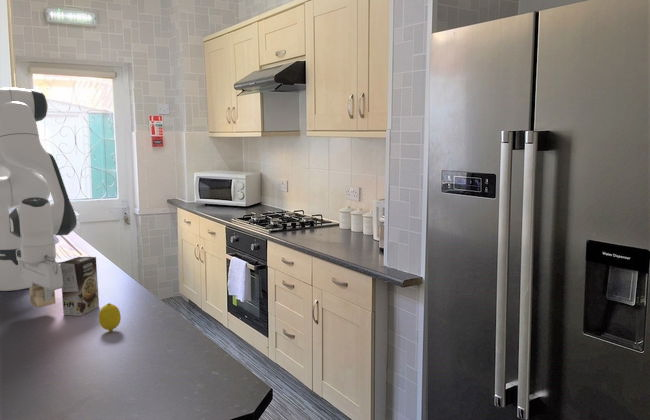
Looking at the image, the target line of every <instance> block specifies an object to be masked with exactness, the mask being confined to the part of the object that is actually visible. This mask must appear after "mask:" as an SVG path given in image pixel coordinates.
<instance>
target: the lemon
mask: <svg viewBox="0 0 650 420" xmlns="http://www.w3.org/2000/svg"><path fill="white" fill-rule="evenodd" d="M121 317H122V316H121V312H120V309H119V307H118V306H117V305H115V304H112V303H111V302H109V303H107V304H105V305H103V307H102V308H100V310H99V315H98V322H99V324H100V326H101V328H103V329H104V330H107V331H108V332H113V330H114V329H116V328H117V327H118V326H119V325H120V323H121V319H122V318H121Z"/></svg>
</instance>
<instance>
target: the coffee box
mask: <svg viewBox="0 0 650 420" xmlns="http://www.w3.org/2000/svg"><path fill="white" fill-rule="evenodd" d="M59 265H60V267H61V271H62V278H63V287H62V288H61V295H62V297H61V298H62V310H63V312H62V313H63V316H74V317H75V316H77V317H82V316H85V315H86V314H88V313H90V312H92V311H94V310H96V309H98V308H100V298H99V286H98V270H97V266H98V265H97V257H96V256H77V257H74V258H71V259H68V260H64V261H63V262H60V263H59Z"/></svg>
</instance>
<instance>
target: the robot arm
mask: <svg viewBox="0 0 650 420" xmlns="http://www.w3.org/2000/svg"><path fill="white" fill-rule="evenodd" d="M48 108H49V105H48V101H47V99H46V95H45V94H44V93H43V92H42V91H41V90H38V89H35V88H34V89H33V88H30V89H28V88H27V89H26V88H19V87H9V86H8V87H0V168H1V169H4V170H7V171H9V172H10V175H7V176H6V175H5V176H0V291H1V292H7V291H9V292H10V291H20V290H24V289H29V288H31V287H36V286H41V287H44V291H45V295H43V298H44V300H45V301H51V300H52V292H53V290H62V287H63V278H62V271H61V267H60V263H59V262H57V261H56V258H57V253H56V252H57V250H56V240H55V237H54V236H68V235H70V234H71V233H72V232H73V231H74V230H75V228H76V226H77V221H78V220H77V215H76V212H75V209H74V208H73V207H74V206H73V205H72V203H71V200H70V198H69V195H68V192H67V189H66V187H65V183H64V180H63V178H62V177H63V176H62V174H61V172H60V168H59V166H58V163H57V161H56V159H55V157H54V155H53V154H51V153H49V152H47V151H46V150H45V148H44V147H43V145H42V143H41V141H40V135H39V130H38V126H37V122H40V121H42V120H44V119H45V118H46V116H47V113H48V111H49V109H48ZM50 196H51V197H52V200H53V201H52V202H53V203H52V204H51V203H50V202H51V201H50V200H49V198H50ZM12 208H14V209H13V210H11V212H9V210H10V209H12Z"/></svg>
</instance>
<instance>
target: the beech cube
mask: <svg viewBox="0 0 650 420" xmlns="http://www.w3.org/2000/svg"><path fill="white" fill-rule="evenodd" d="M28 289H29V299H30V301H29V302H30V305H31V306H34V307H36V308H43V307H46V306H51V305H55V304H56V292H55V290H53V292H52V300H51V301H45V300H44V298H43V295H45V291H44V287H41V286H36V287H30V288H28Z"/></svg>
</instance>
